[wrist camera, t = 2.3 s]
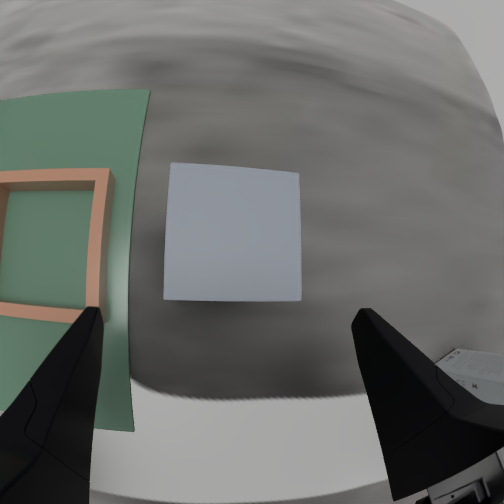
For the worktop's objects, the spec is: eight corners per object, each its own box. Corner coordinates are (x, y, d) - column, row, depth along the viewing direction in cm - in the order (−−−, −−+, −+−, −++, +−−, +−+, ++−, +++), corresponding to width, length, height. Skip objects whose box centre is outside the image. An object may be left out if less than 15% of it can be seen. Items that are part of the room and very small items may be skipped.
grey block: (242, 298, 20) (301, 300, 11) (171, 296, 19) (163, 299, 10) (243, 227, 21) (298, 173, 11) (173, 224, 20) (171, 162, 10)
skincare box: (426, 368, 23) (541, 389, 11) (457, 345, 24) (563, 354, 13) (433, 422, 23) (532, 456, 11) (462, 398, 24) (557, 419, 12)
